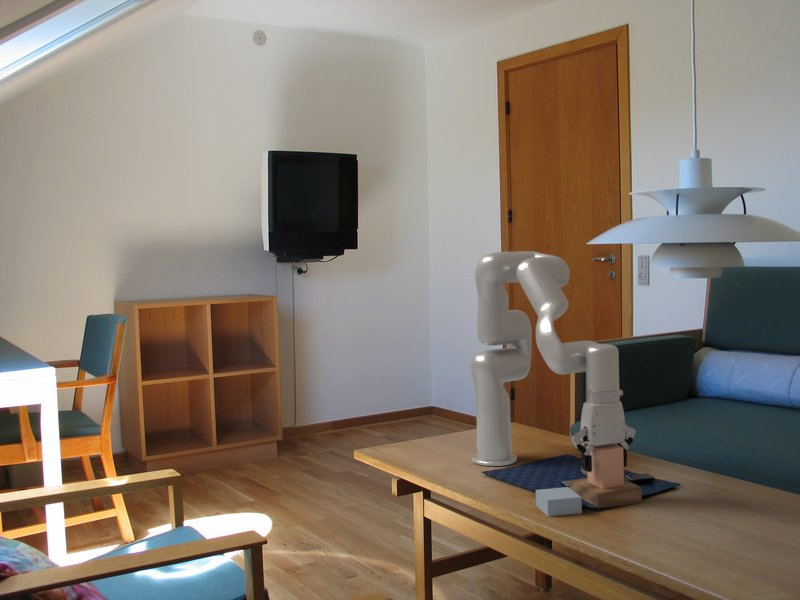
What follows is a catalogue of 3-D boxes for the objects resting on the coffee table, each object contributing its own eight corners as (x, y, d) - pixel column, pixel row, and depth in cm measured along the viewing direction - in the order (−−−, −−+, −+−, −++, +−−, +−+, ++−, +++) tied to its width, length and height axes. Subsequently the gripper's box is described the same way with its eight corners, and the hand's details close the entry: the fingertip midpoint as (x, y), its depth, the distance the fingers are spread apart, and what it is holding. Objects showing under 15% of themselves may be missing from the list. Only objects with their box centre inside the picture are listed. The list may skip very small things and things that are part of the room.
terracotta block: (587, 482, 194) (586, 445, 193) (608, 478, 196) (607, 441, 195) (602, 488, 188) (602, 450, 187) (623, 485, 190) (623, 447, 190)
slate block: (536, 506, 189) (535, 490, 189) (568, 503, 190) (568, 487, 190) (548, 517, 181) (547, 500, 181) (581, 514, 182) (581, 497, 182)
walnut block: (569, 496, 196) (569, 480, 196) (611, 490, 200) (611, 474, 200) (598, 511, 185) (597, 494, 184) (641, 503, 189) (641, 487, 188)
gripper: (624, 390, 197) (625, 459, 198) (562, 397, 191) (564, 468, 192) (643, 395, 190) (644, 467, 191) (580, 403, 184) (582, 476, 185)
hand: (604, 468), depth 192 cm, fingers open, 9 cm apart
